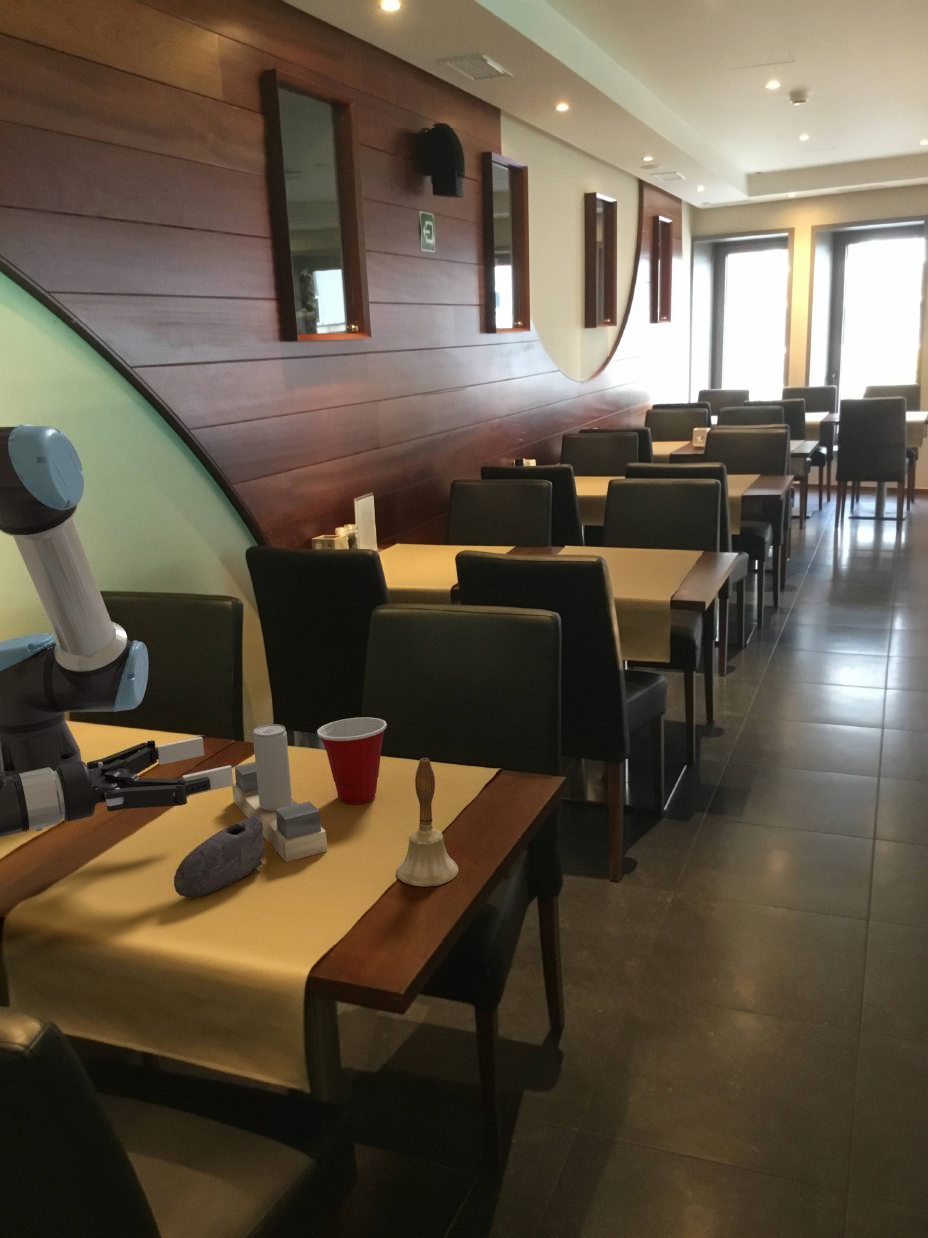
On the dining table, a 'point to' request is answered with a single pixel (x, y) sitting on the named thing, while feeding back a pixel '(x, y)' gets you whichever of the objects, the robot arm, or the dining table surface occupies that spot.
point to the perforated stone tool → (221, 859)
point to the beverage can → (272, 767)
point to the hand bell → (426, 840)
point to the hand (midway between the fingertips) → (217, 760)
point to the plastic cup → (354, 756)
